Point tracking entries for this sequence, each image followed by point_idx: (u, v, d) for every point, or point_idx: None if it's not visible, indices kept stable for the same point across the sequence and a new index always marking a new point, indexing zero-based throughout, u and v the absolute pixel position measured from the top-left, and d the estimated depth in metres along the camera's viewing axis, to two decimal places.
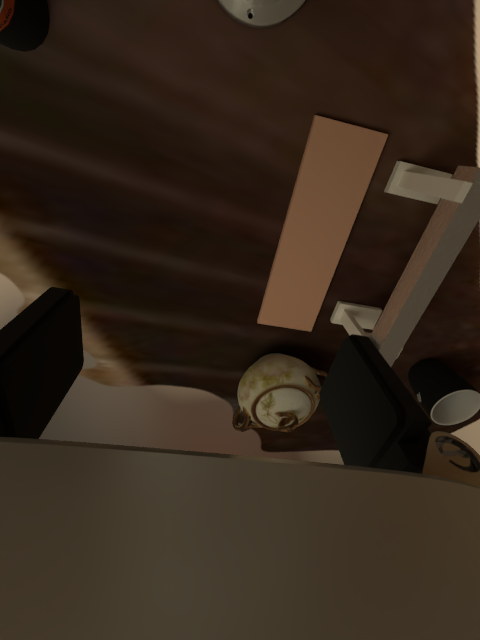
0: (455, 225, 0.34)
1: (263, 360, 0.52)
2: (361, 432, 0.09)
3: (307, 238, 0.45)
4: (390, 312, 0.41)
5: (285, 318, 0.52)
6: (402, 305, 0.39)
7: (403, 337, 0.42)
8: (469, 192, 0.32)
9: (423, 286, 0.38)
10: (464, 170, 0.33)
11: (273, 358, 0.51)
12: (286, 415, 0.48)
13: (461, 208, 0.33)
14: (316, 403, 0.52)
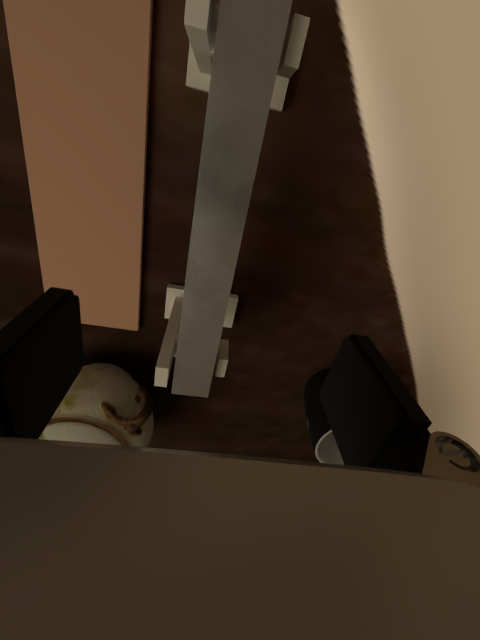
0: (225, 101, 0.15)
1: None
2: (361, 432, 0.09)
3: (73, 175, 0.27)
4: None
5: (89, 311, 0.34)
6: None
7: (210, 343, 0.23)
8: (228, 7, 0.14)
9: (208, 245, 0.19)
10: None
11: None
12: None
13: (225, 55, 0.14)
14: (135, 441, 0.34)
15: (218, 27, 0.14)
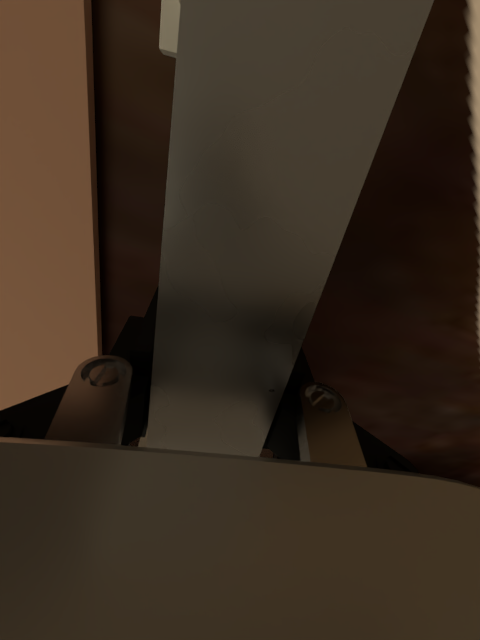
0: (249, 17, 0.04)
1: None
2: None
3: None
4: None
5: None
6: None
7: None
8: None
9: (196, 419, 0.08)
10: None
11: None
12: None
13: None
14: None
15: None
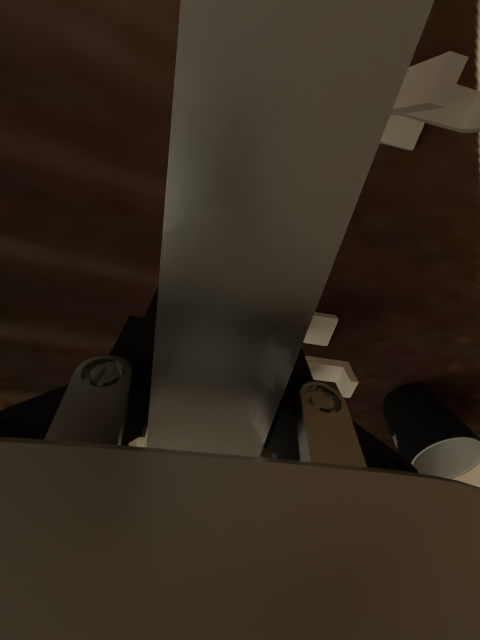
0: (248, 22, 0.04)
1: None
2: None
3: None
4: None
5: None
6: None
7: None
8: None
9: (196, 420, 0.08)
10: None
11: None
12: None
13: None
14: None
15: None
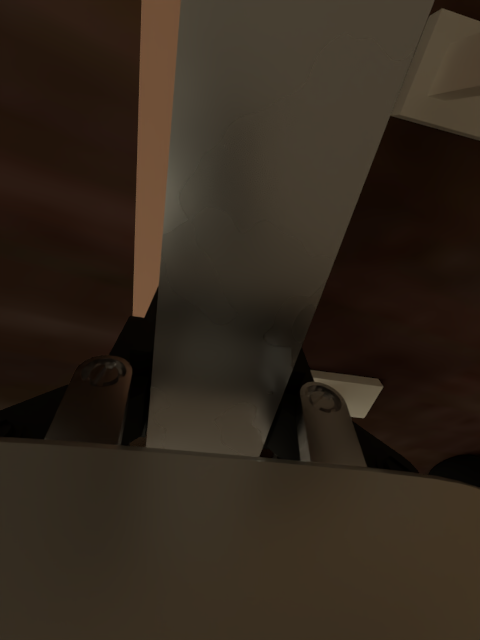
0: (248, 22, 0.04)
1: None
2: None
3: None
4: None
5: None
6: None
7: None
8: None
9: (196, 420, 0.08)
10: None
11: None
12: None
13: None
14: None
15: None
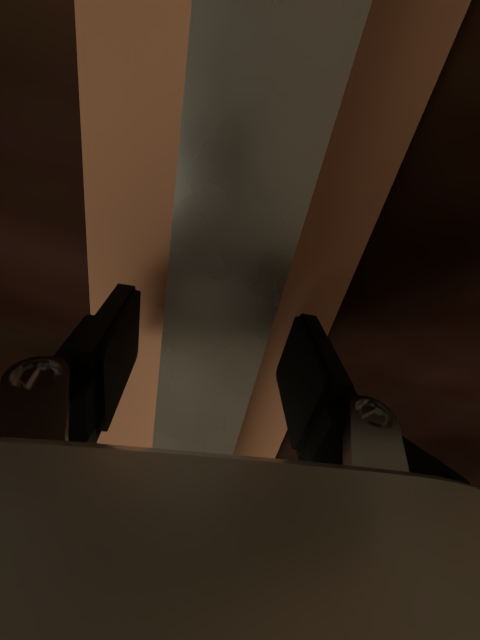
0: (234, 53, 0.06)
1: None
2: (300, 402, 0.09)
3: None
4: None
5: None
6: None
7: None
8: None
9: (198, 363, 0.10)
10: None
11: None
12: None
13: None
14: None
15: None
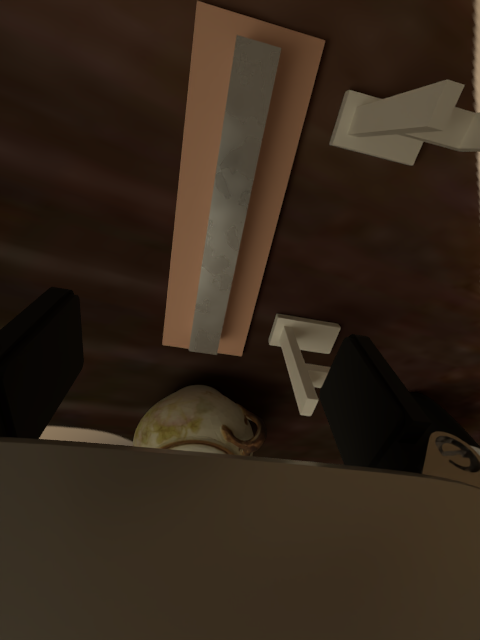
0: (232, 134, 0.23)
1: (167, 399, 0.36)
2: (361, 432, 0.09)
3: None
4: None
5: None
6: (202, 261, 0.28)
7: (219, 308, 0.31)
8: (235, 79, 0.22)
9: (220, 232, 0.27)
10: None
11: (180, 397, 0.35)
12: None
13: (233, 106, 0.22)
14: None
15: (229, 90, 0.22)
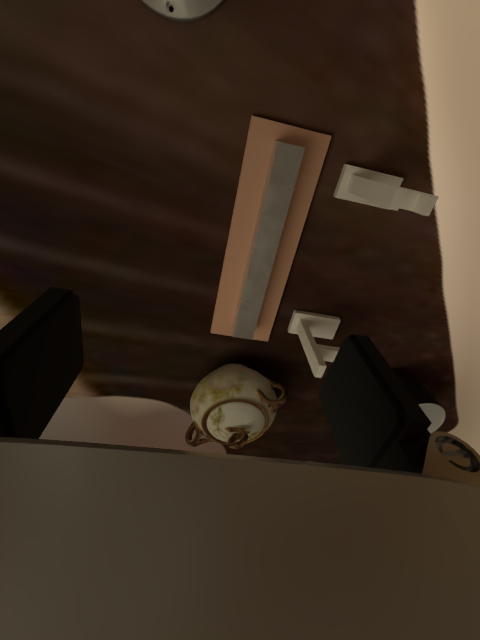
0: (272, 196, 0.37)
1: (215, 372, 0.49)
2: (361, 432, 0.09)
3: None
4: (243, 282, 0.44)
5: None
6: (246, 274, 0.42)
7: (256, 306, 0.44)
8: (276, 165, 0.35)
9: (260, 256, 0.40)
10: (274, 145, 0.35)
11: (225, 370, 0.49)
12: (236, 430, 0.46)
13: (273, 180, 0.36)
14: (271, 417, 0.49)
15: (271, 171, 0.35)
